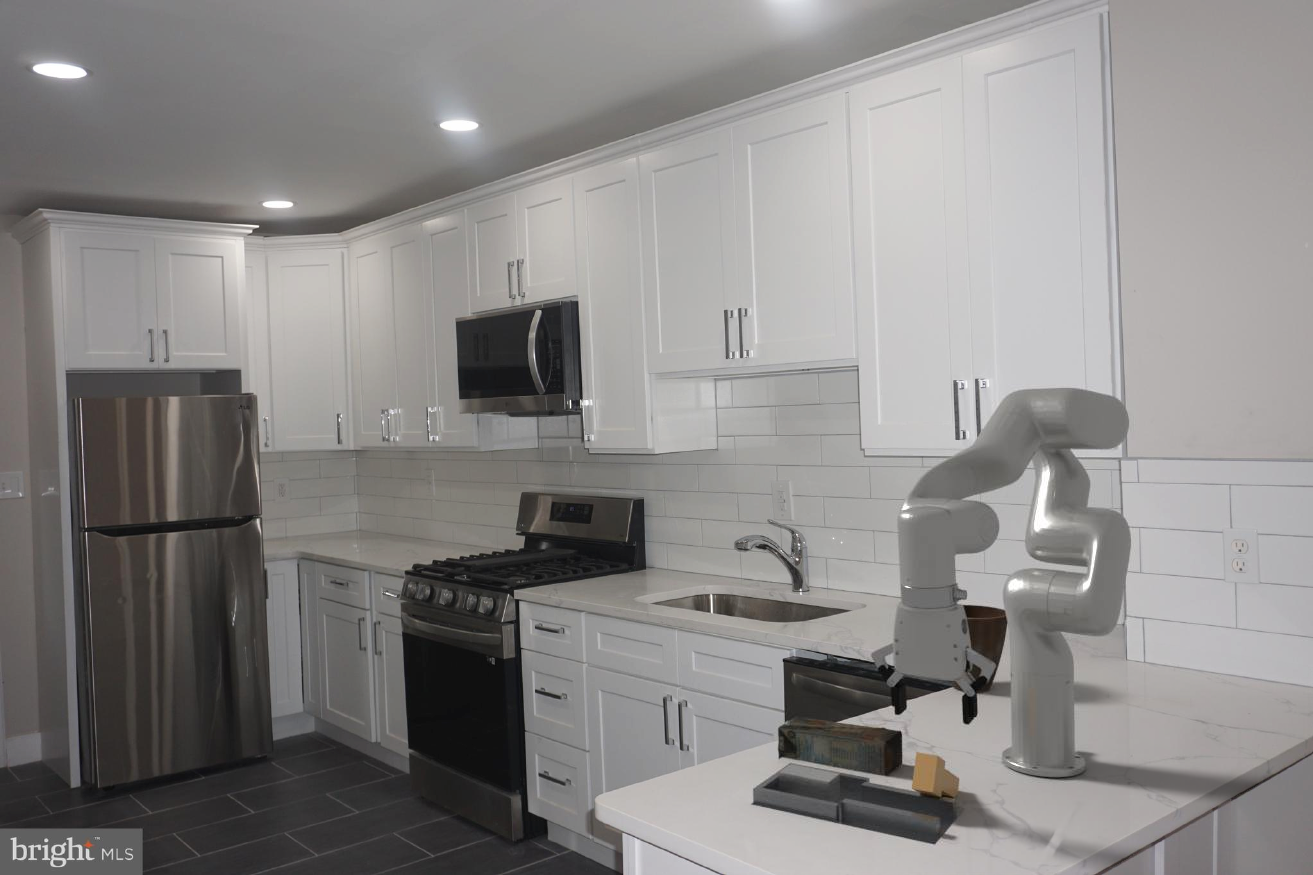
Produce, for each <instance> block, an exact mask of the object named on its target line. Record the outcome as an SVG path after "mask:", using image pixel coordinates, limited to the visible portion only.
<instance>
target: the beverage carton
mask: <svg viewBox="0 0 1313 875" xmlns="http://www.w3.org/2000/svg"><path fill="white" fill-rule="evenodd" d="M777 736H778V737H777V739H778V741H777V742H778V744H777V752H778V760H780V759H782V758H784V759H792V760H794V761H795V760H796V761H802V762H807V763H812V764H818V765H822V766H827V767H833V768H837V769H838V768H839V769H844V770H848V771H849V770H850V771H855V772H858V773H859V772H860V773H866V774H872V775H878V776H885V777H888V776H889V775H890V774H892V773H893V772H894V771H896V770H897V769H898V768H900V766H901V765H903V732H902V731H901V730H895V729H891V728H890V729H889V728H886V727H884V726H883V727H872V726H866V725H861V724H860V725H858V724H852V723H851V724H850V723H843V722H836V721H828V720H822V719H815V718H809V717H804V716H803V717H802V716H798V715H797V716H796V717H793V718H792V719H790V720H786V721H785V723H783V724H781V725H780V726H778V728H777Z"/></svg>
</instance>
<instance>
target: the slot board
mask: <svg viewBox="0 0 1313 875" xmlns="http://www.w3.org/2000/svg"><path fill="white" fill-rule="evenodd" d="M790 764H793V765H798V766H804V767H809V768H814V769H818V770H824V771H829V772H834V773H840V798H839V799H837V800H836V801H835V802H834V803H833V802H829V801H824V800H819V799H814V798H809V797H804V796H800V795H795V794H790V793H785V792H780V791H779V772H780V771H781V770H783V769H784V768H786V767H787V766H789V765H790ZM752 796H753V797H752V798H753V799H752V800H753V801H752V803H751V805H754V806H756V807H762V808H766V809H770V810H774V811H780V812H784V813H788V814H795V815H798V816H802V817H803V816H804V817H807V818H812V819H816V820H819V821H820V820H821V821H824V822H830V823H835V824H839V825H844V826H848V827H852V828H857V829H862V830H867V831H871V832H876V833H880V834H884V835H890V836H895V837H898V838H904V839H908V840H912V841H916V842H922V843H926V844H931V845H935V844H936V843H937V842H938V841H939V840H940V839H941V837H942V836H943V835H944V834H945V833H946V831H948V830H949V828H950V827H951V826H952V825H953V824H954V822H955V821H956V820H957V819H958V818H959V817H960V815H961V814H962V813H963V812H964V811H965V809H966V807H962V806H957V799H956V798H954V797H949V796H943V795H941V797H937V796H931V795H926V794H921V793H919V792H917V791H915V790H912V789H905V788H900V787H894V786H890V785H884V784H880V783H879V784H878V783H874V782H873V783H872V782H870V777H865V776H862V775H856V774H850V773H846V772H839V771H834V770H828V769H824V768H818V767H813V766H808V765H802V764H797V763H792V762H789V763H788V764H786V765H785V766H784V767H782V768H781V769H779V770H778V771H777V772H775V773H774V774H772V775H771V776H769V777H768V778H767V779H765V780H763V781H762V782H760V783H759V784H758V785H756V786H754V788H752Z"/></svg>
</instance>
